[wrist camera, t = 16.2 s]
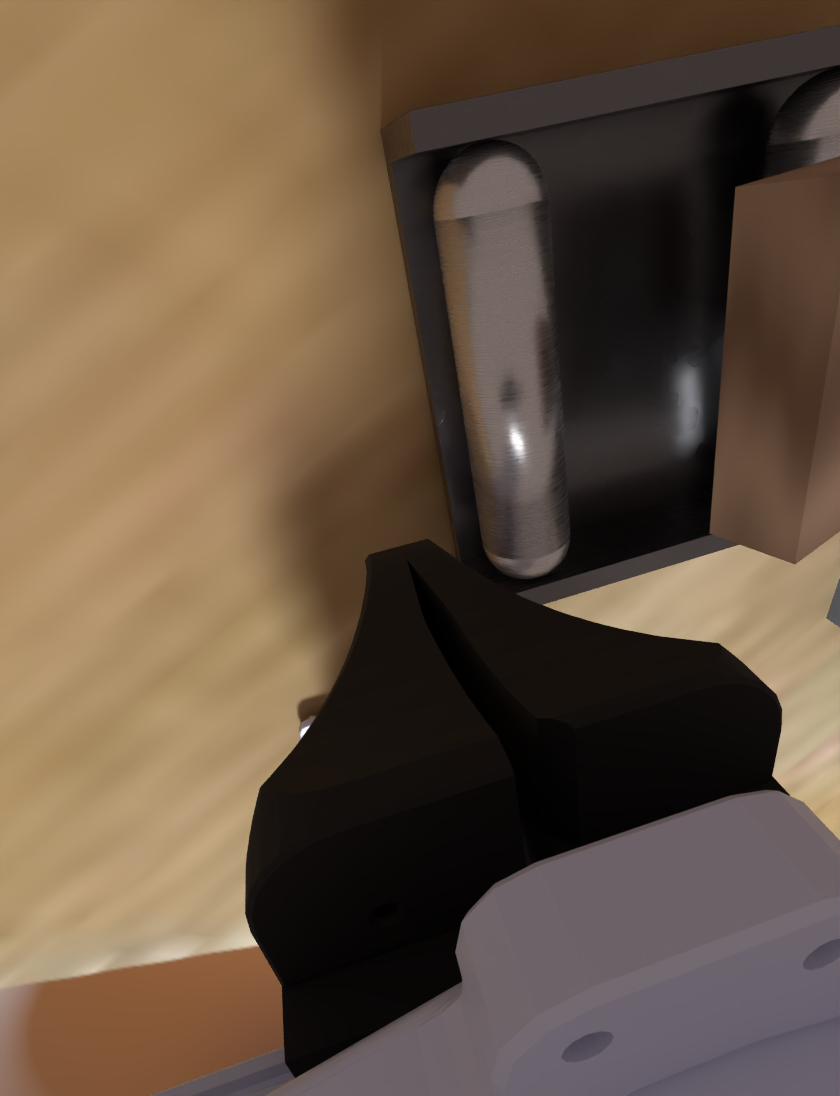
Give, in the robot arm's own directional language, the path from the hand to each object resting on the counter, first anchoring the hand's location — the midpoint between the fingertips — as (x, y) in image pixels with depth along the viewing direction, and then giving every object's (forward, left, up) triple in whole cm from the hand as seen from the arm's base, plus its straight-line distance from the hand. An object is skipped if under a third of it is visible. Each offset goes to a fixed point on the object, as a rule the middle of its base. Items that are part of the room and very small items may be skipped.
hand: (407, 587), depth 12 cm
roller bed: (+1, -10, -9) cm, 14 cm away
